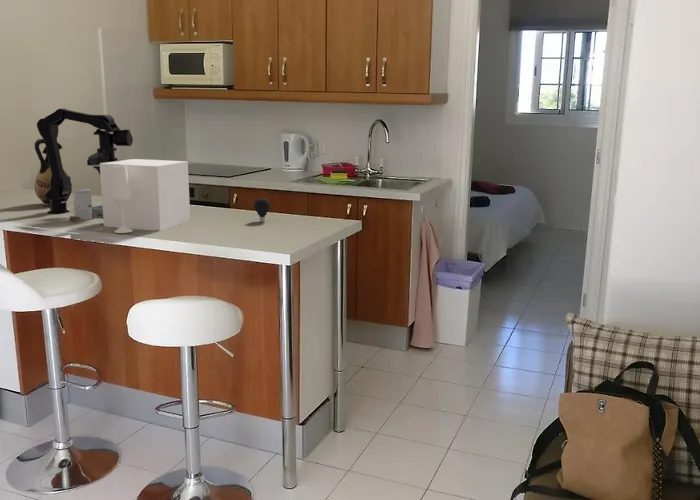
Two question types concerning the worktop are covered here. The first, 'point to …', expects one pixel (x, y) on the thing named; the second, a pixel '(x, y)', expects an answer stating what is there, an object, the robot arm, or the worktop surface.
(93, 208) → the slate tray
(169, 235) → the worktop surface
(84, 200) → the skincare box
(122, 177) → the champagne flute
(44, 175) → the ceramic jug
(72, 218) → the brown wooden block
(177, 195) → the cube
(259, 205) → the light bulb
